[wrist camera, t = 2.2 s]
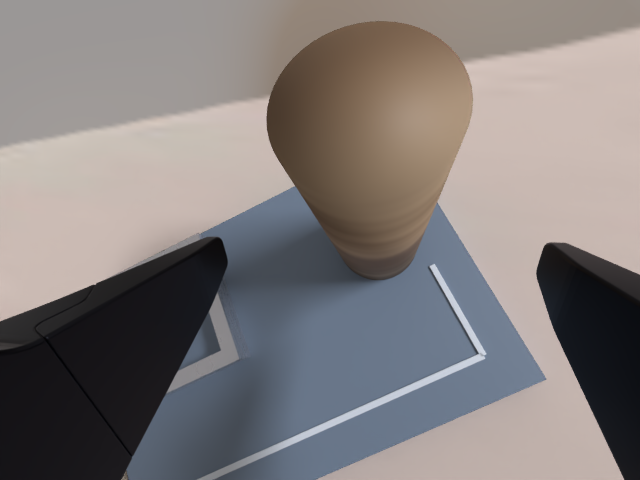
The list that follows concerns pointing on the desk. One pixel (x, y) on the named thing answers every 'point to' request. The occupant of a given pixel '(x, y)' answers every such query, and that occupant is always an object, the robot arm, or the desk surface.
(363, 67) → the tan wooden peg
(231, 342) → the metal collar
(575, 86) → the desk surface
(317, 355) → the board
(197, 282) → the robot arm
